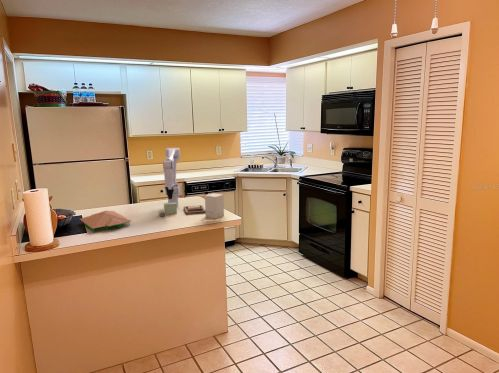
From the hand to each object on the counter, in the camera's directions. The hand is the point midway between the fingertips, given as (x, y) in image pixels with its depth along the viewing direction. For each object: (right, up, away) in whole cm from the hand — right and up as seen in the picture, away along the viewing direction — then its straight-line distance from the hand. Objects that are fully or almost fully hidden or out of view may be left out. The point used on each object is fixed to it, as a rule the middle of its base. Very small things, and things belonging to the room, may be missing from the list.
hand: (169, 198), depth 251 cm
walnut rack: (+16, -10, +4) cm, 19 cm away
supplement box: (+31, -12, -9) cm, 35 cm away
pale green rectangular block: (+1, -10, -1) cm, 11 cm away
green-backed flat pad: (-35, -16, -22) cm, 45 cm away
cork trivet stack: (+15, -8, +7) cm, 19 cm away
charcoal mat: (+1, -11, -1) cm, 11 cm away
